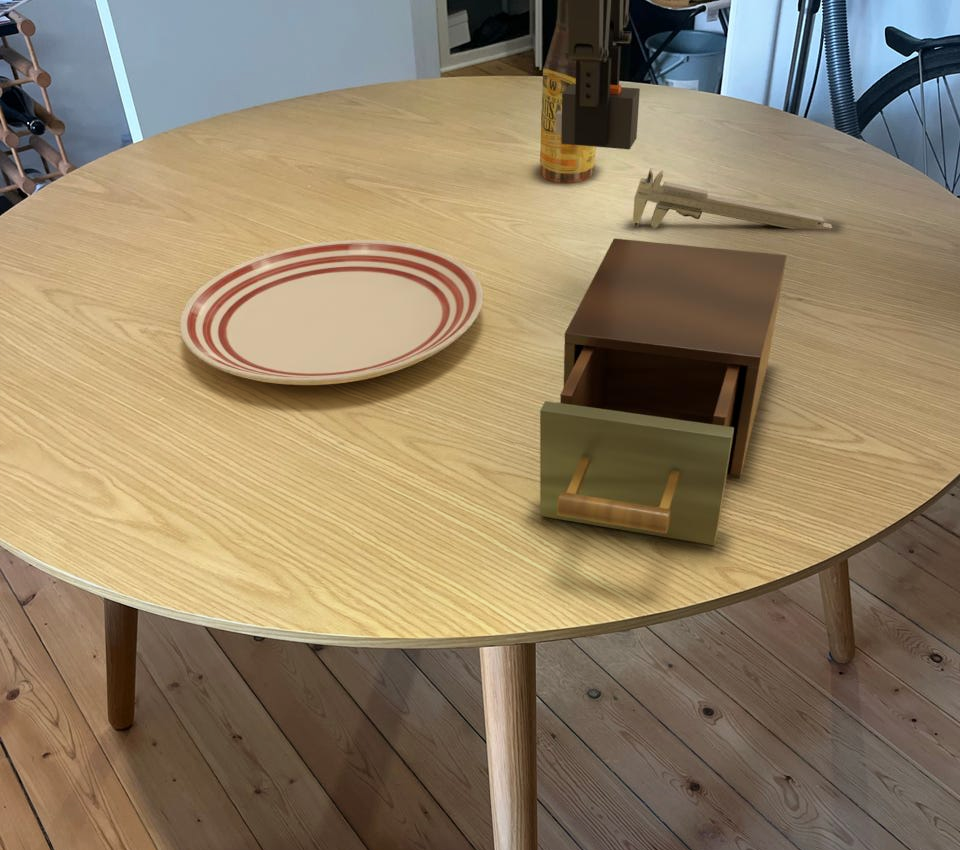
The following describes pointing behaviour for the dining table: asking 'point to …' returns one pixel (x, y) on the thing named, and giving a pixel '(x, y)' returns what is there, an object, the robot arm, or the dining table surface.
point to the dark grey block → (620, 117)
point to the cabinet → (685, 313)
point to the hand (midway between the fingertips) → (595, 136)
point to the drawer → (640, 443)
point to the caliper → (712, 206)
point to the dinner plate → (331, 312)
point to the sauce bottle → (557, 76)
